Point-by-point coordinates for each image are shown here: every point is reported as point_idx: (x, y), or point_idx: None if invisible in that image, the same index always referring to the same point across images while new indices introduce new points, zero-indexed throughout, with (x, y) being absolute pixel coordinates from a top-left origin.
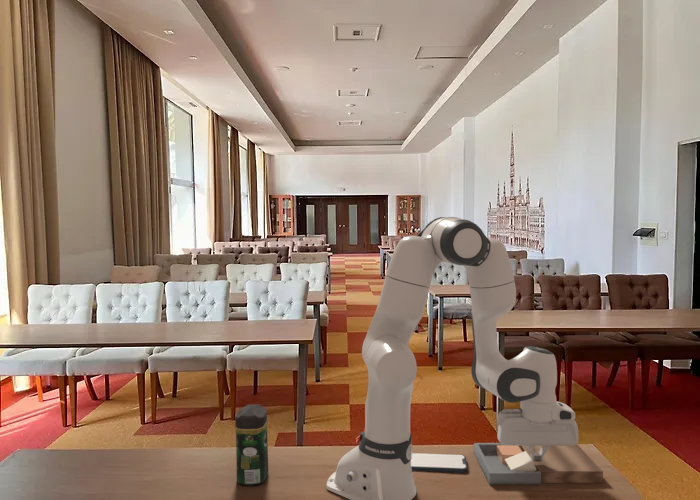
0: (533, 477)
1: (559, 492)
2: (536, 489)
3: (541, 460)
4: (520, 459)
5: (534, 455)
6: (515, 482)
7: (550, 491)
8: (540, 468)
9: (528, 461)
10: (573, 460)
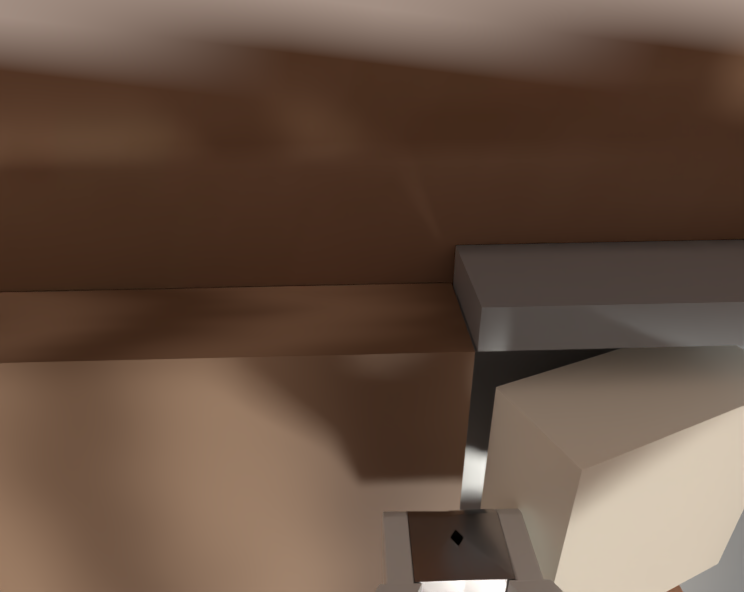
0: (562, 279)
1: (305, 82)
2: (545, 149)
3: (408, 519)
4: (647, 535)
5: (517, 579)
6: (739, 249)
7: (404, 105)
8: (437, 414)
9: (616, 481)
10: (16, 564)
